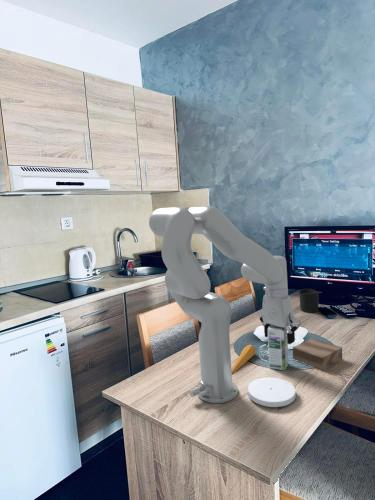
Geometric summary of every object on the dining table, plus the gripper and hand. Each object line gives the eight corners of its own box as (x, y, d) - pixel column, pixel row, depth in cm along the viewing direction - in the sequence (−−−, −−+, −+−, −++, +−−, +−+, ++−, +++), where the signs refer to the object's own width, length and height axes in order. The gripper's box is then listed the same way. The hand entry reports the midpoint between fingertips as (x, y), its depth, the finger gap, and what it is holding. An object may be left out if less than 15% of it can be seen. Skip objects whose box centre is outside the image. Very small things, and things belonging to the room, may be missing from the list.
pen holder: (320, 308, 183) (320, 289, 182) (316, 313, 175) (316, 294, 174) (302, 306, 188) (301, 288, 187) (297, 311, 180) (297, 292, 179)
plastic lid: (261, 380, 116) (261, 373, 116) (303, 392, 107) (302, 385, 107) (239, 400, 106) (238, 392, 105) (283, 416, 97) (283, 407, 96)
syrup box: (268, 368, 123) (266, 328, 121) (272, 361, 129) (271, 322, 127) (285, 371, 121) (283, 330, 119) (288, 363, 126) (287, 324, 124)
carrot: (249, 354, 137) (244, 344, 137) (259, 352, 135) (253, 341, 135) (226, 383, 121) (220, 371, 121) (236, 381, 118) (231, 369, 118)
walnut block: (322, 372, 119) (322, 358, 118) (293, 360, 129) (292, 347, 128) (342, 360, 126) (342, 347, 125) (313, 350, 136) (312, 338, 135)
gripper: (249, 290, 126) (253, 336, 128) (291, 299, 112) (294, 349, 115) (263, 286, 130) (266, 330, 133) (305, 293, 117) (307, 342, 119)
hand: (279, 339), depth 124 cm, fingers open, 9 cm apart
